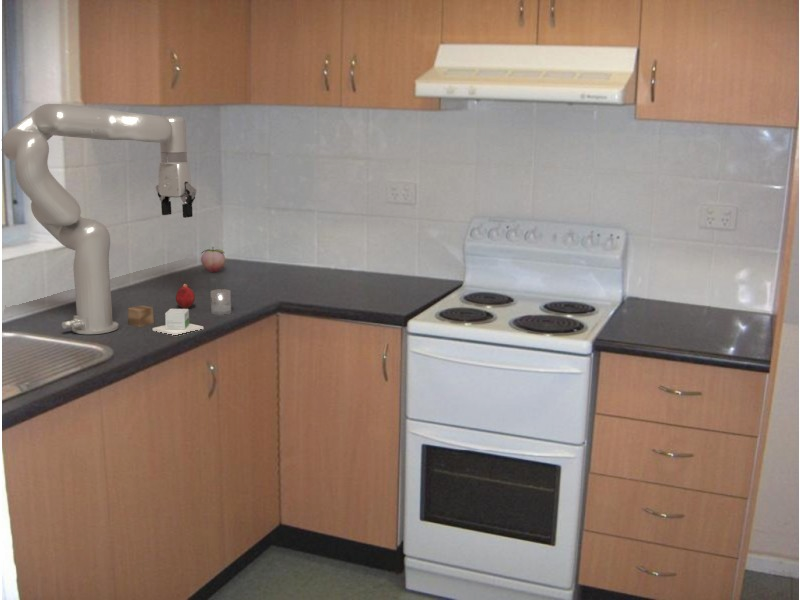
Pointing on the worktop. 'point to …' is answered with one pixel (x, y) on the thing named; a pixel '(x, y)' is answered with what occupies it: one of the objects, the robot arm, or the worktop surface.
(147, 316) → the walnut block
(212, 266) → the decorative fruit
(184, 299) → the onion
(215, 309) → the tin
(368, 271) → the worktop surface
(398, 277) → the worktop surface
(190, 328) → the plate
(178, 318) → the small box
